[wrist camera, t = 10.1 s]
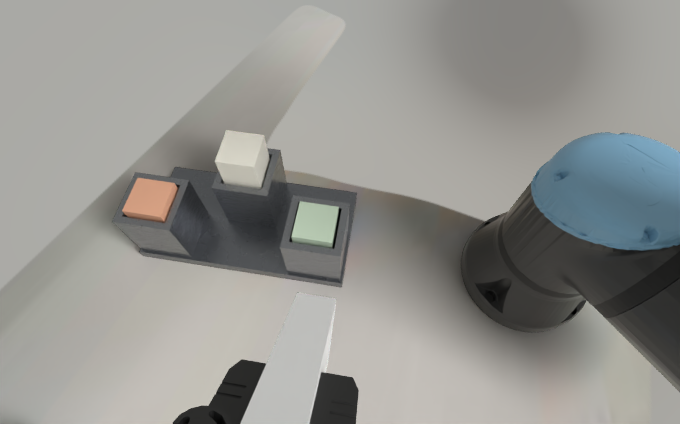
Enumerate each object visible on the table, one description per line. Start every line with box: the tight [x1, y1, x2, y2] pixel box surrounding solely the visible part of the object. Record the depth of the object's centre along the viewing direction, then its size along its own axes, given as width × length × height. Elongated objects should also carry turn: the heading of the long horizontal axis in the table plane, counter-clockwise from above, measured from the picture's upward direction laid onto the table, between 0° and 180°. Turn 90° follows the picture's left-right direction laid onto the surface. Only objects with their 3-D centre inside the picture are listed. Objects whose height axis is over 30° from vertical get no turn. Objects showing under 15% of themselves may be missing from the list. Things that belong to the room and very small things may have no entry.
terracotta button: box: [122, 178, 178, 223], centre depth 49 cm, size 4×4×8 cm
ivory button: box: [215, 130, 270, 189], centre depth 49 cm, size 4×4×8 cm
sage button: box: [291, 201, 339, 249], centre depth 48 cm, size 4×4×8 cm
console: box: [112, 148, 357, 287], centre depth 51 cm, size 26×13×10 cm, turn 81°
